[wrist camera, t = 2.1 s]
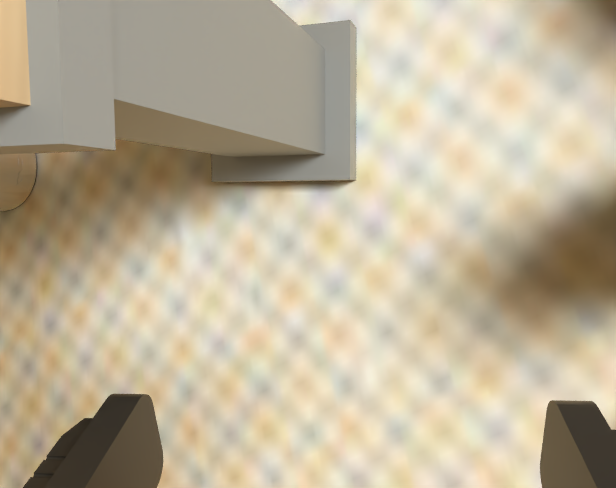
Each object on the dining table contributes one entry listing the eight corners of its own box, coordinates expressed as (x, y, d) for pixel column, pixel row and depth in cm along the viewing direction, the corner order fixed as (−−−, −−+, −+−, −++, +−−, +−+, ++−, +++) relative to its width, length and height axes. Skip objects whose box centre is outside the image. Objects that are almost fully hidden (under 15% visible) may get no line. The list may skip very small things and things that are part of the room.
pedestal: (222, 182, 48) (-239, 157, 17) (220, 42, 47) (-275, -245, 16) (355, 180, 44) (63, 143, 14) (356, 27, 43) (41, -380, 13)
